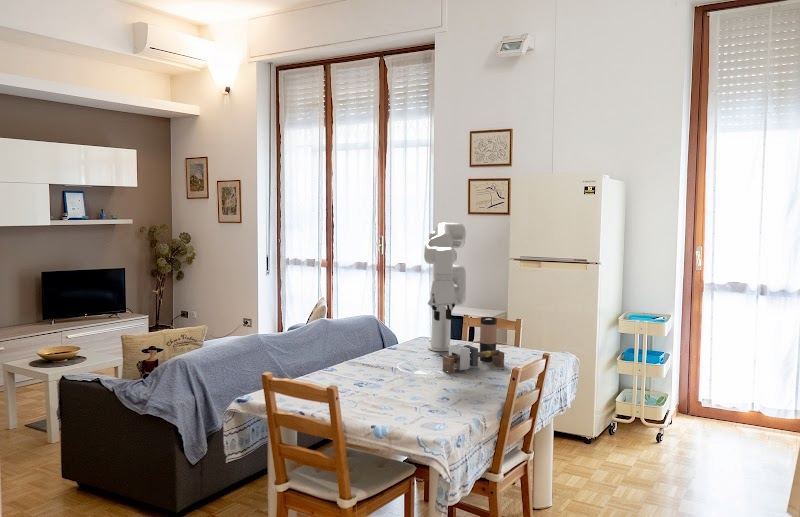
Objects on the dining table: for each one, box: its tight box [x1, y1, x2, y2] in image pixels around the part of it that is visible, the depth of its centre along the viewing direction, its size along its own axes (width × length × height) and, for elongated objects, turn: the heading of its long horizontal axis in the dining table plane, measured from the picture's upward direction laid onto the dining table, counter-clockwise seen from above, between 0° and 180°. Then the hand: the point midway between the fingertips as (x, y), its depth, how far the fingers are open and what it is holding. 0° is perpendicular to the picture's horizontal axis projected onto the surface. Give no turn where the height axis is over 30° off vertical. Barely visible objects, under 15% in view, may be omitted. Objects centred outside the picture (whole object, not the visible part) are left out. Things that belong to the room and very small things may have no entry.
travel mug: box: [479, 316, 498, 363], centre depth 314 cm, size 8×8×20 cm
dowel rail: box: [442, 349, 505, 374], centre depth 299 cm, size 29×6×7 cm, turn 119°
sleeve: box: [448, 344, 471, 371], centre depth 295 cm, size 5×9×9 cm, turn 29°
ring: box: [462, 344, 479, 368], centre depth 298 cm, size 2×8×8 cm, turn 29°
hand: (442, 319), depth 289 cm, fingers open, 5 cm apart
